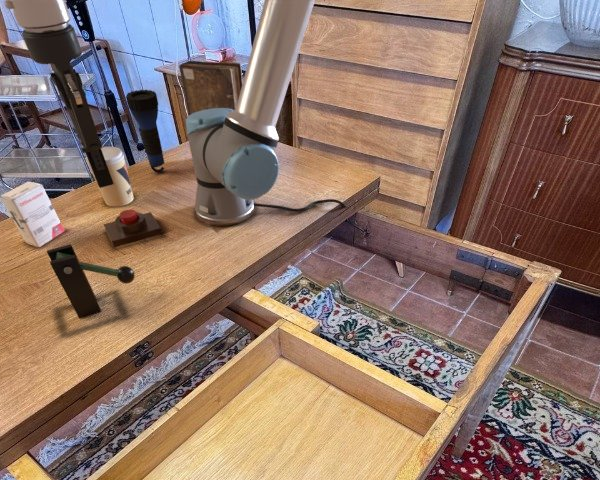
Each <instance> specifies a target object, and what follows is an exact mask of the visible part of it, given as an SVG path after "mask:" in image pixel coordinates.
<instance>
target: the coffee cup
mask: <svg viewBox="0 0 600 480" xmlns="http://www.w3.org/2000/svg"><path fill="white" fill-rule="evenodd" d="M101 150H102V153H103V155H104V158H105V161H106V164H107V167H108V169H109V172H110V175H111V178H112V180H113V183H114V184H113V185H109V186H106V187H102V188H100V187H99V186H98V184H97V181H96V179H95V176H94V174H93V171H92V169H91V166H90V163H89V161H88V158H87V156H86V155H85V162H86V163H87V165H88V167H89V169H90V172H91V174H92V176H93V178H94V181H95V183H96V185H97V187H98V190H99V193H100V194H101V196H102V198H103V201H104V203H105V204H106V205H107V206H109V207H122V206H126V205H129V204H130V203H132V202H133V200H134V192H133V189H132V185H131V181H130V176H129V172H128V168H127V164H126V160H125V154H124V152H123V150H121V149H120V148H118V147H117V146H102V148H101Z"/></svg>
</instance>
